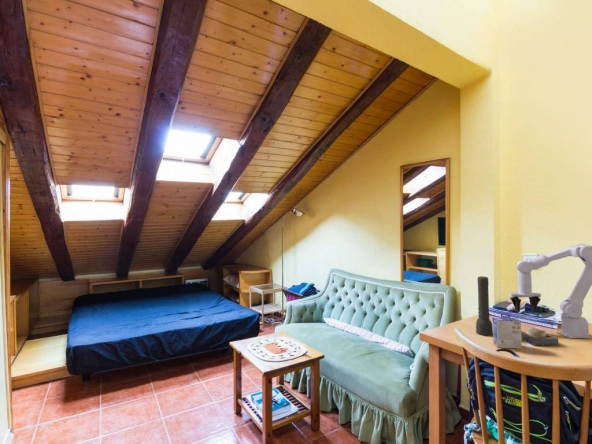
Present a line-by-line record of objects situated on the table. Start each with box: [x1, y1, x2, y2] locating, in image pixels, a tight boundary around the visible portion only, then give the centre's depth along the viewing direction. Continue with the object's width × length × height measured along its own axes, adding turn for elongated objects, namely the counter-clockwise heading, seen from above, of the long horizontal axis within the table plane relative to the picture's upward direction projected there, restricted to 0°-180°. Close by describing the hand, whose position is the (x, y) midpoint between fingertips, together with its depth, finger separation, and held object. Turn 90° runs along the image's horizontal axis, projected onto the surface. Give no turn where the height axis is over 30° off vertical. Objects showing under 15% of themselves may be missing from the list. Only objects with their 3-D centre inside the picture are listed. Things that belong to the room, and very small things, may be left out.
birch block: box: [528, 326, 547, 338], centre depth 145 cm, size 4×4×5 cm
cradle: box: [521, 330, 559, 347], centre depth 145 cm, size 10×10×3 cm
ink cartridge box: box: [491, 312, 523, 350], centre depth 140 cm, size 10×6×14 cm, turn 78°
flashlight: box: [475, 276, 493, 337], centre depth 156 cm, size 7×28×7 cm
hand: (525, 311), depth 160 cm, fingers open, 7 cm apart
